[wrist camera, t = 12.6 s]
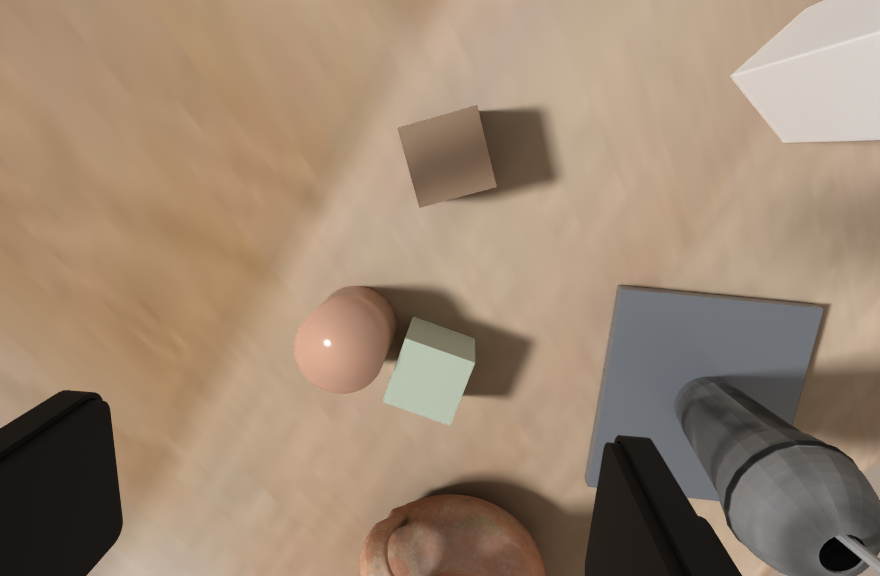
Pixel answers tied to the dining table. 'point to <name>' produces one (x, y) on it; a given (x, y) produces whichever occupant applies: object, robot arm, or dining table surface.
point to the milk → (820, 74)
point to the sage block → (431, 371)
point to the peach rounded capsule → (345, 340)
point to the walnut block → (447, 156)
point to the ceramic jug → (450, 541)
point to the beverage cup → (781, 484)
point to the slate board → (695, 367)
